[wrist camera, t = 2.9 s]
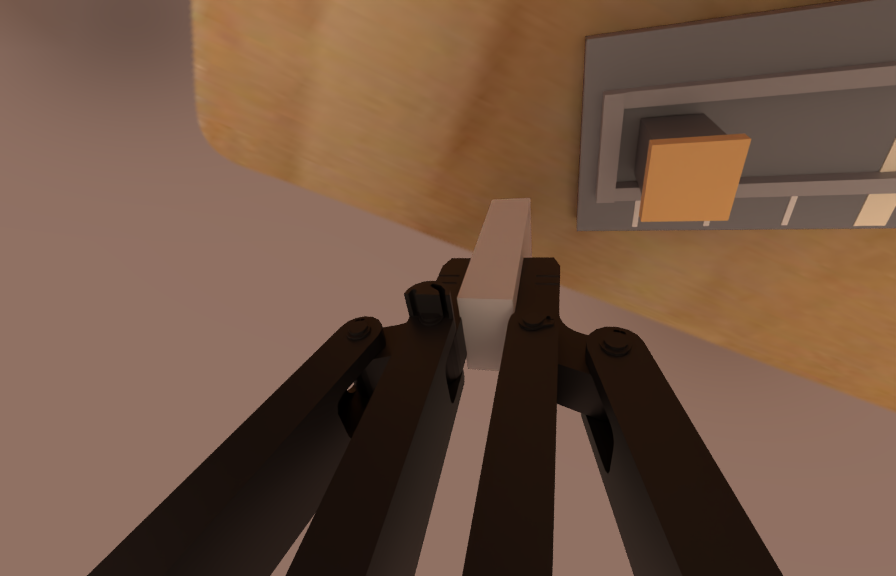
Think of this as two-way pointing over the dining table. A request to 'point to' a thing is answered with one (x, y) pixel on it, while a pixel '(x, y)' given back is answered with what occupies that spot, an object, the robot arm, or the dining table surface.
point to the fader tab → (687, 168)
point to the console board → (753, 114)
